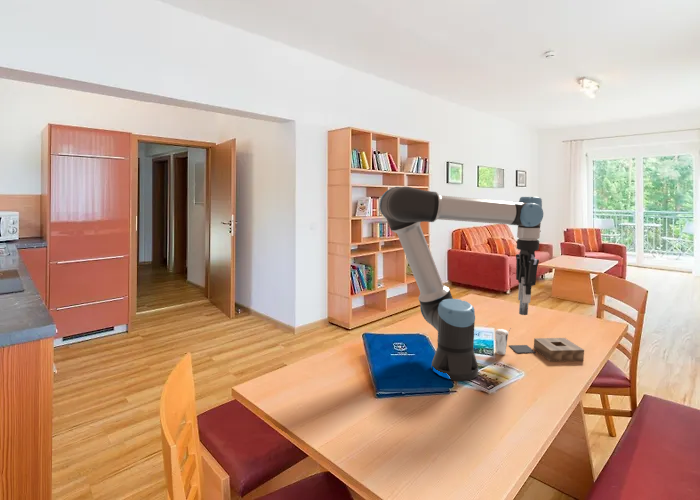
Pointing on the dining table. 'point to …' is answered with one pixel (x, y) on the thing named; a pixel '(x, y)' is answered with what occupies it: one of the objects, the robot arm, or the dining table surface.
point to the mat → (522, 349)
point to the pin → (523, 306)
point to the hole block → (558, 349)
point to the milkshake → (501, 341)
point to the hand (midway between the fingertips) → (524, 301)
